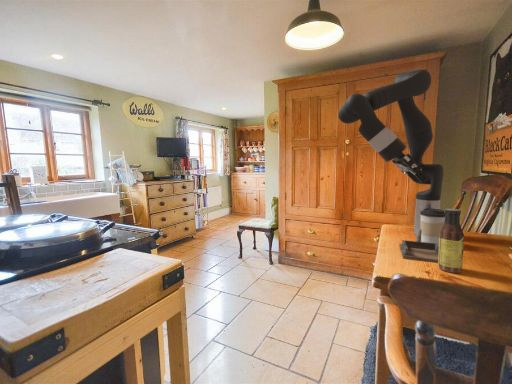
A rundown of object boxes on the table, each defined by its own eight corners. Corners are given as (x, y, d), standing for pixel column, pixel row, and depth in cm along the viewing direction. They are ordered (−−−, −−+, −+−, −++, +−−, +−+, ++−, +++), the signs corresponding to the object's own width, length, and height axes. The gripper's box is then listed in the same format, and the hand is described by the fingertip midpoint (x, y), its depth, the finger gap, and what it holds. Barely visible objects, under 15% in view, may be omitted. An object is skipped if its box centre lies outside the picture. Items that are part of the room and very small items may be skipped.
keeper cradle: (399, 246, 103) (400, 227, 102) (437, 250, 98) (438, 230, 97) (403, 258, 91) (404, 237, 90) (446, 263, 85) (448, 241, 84)
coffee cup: (418, 239, 111) (420, 206, 109) (443, 242, 106) (446, 208, 104) (418, 244, 104) (420, 209, 102) (445, 248, 99) (447, 211, 97)
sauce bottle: (466, 274, 77) (471, 212, 74) (443, 273, 78) (448, 211, 76) (454, 265, 83) (458, 207, 81) (433, 264, 85) (437, 207, 82)
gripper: (402, 133, 75) (441, 173, 73) (391, 138, 88) (424, 172, 86) (381, 150, 77) (418, 190, 75) (373, 153, 90) (405, 187, 88)
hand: (421, 180), depth 80 cm, fingers open, 8 cm apart
